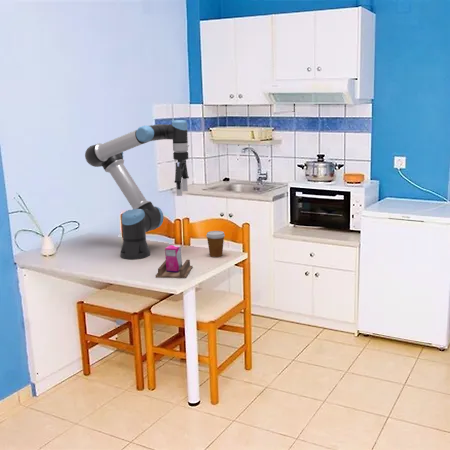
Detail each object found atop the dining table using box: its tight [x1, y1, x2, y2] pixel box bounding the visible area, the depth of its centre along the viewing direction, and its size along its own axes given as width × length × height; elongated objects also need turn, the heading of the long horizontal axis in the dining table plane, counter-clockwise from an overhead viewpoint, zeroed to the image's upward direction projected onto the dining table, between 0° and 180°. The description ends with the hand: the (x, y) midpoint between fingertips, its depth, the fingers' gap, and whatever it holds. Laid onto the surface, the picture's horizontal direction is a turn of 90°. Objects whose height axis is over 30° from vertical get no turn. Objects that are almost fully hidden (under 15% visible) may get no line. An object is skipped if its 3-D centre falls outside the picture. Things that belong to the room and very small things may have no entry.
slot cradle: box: [155, 259, 194, 279], centre depth 261 cm, size 14×16×4 cm
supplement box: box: [164, 244, 183, 273], centre depth 260 cm, size 6×6×12 cm
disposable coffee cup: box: [205, 230, 226, 258], centre depth 287 cm, size 10×10×12 cm
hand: (182, 193), depth 287 cm, fingers open, 13 cm apart
